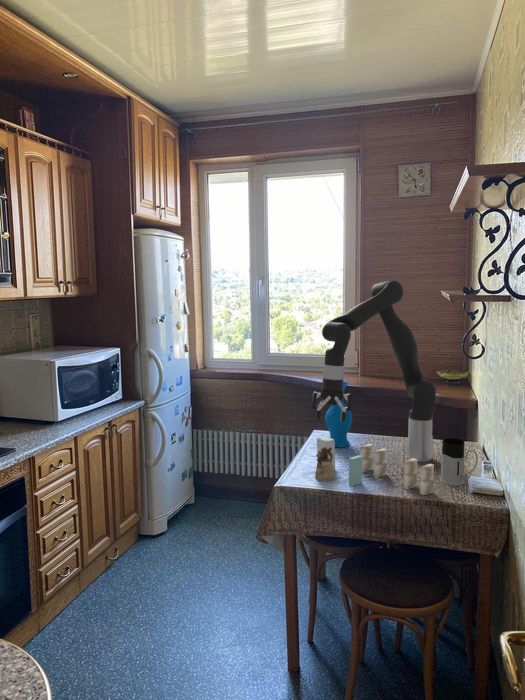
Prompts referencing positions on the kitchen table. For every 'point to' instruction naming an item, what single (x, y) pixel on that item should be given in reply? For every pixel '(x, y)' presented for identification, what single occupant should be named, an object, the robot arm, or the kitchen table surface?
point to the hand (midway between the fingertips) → (330, 421)
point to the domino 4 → (410, 473)
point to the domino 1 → (355, 470)
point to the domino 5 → (426, 479)
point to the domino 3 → (380, 462)
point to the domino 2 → (366, 457)
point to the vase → (338, 423)
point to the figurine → (324, 465)
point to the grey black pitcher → (454, 462)
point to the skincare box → (327, 446)
